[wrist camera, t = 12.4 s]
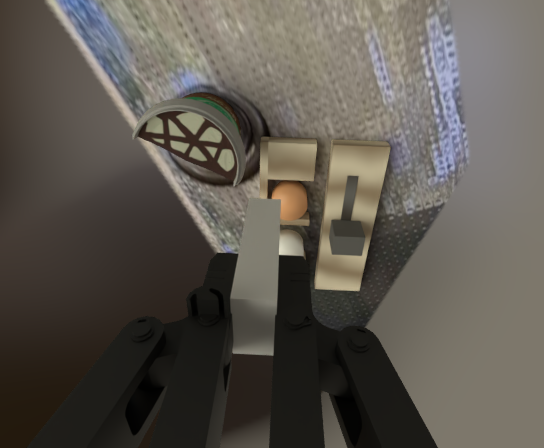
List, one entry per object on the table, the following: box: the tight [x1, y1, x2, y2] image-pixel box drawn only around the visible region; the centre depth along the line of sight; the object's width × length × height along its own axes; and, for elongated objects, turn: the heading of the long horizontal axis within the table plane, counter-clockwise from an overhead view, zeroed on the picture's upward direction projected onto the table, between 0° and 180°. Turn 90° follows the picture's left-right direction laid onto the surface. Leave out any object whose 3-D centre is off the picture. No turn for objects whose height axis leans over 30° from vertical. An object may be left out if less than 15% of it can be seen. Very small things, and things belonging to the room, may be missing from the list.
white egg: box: [279, 229, 304, 257], centre depth 50 cm, size 5×5×3 cm
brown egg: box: [272, 180, 307, 221], centre depth 48 cm, size 5×5×3 cm
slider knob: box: [329, 220, 366, 256], centre depth 48 cm, size 3×4×4 cm
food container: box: [132, 92, 246, 186], centre depth 39 cm, size 12×6×10 cm, turn 63°
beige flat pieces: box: [260, 137, 391, 291], centre depth 51 cm, size 24×16×2 cm, turn 178°
